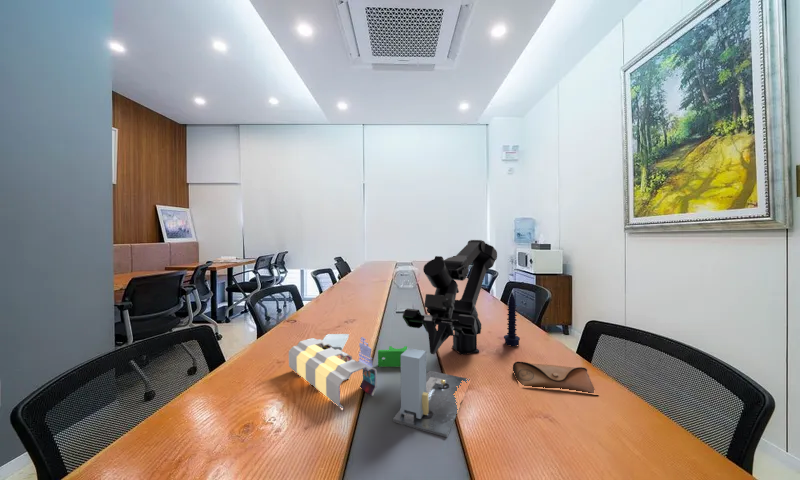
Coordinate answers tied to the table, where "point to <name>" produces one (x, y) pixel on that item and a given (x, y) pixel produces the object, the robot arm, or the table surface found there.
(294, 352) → the diorama
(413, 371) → the gray rectangular block
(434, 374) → the flange plate
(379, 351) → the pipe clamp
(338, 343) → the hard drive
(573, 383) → the sunglasses case
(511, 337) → the screw
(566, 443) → the table surface
